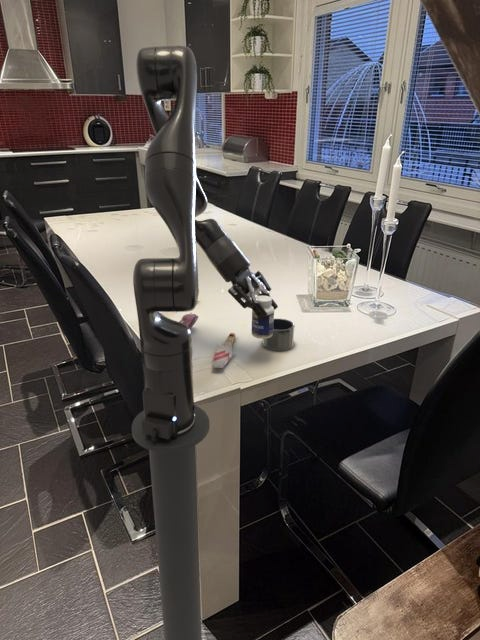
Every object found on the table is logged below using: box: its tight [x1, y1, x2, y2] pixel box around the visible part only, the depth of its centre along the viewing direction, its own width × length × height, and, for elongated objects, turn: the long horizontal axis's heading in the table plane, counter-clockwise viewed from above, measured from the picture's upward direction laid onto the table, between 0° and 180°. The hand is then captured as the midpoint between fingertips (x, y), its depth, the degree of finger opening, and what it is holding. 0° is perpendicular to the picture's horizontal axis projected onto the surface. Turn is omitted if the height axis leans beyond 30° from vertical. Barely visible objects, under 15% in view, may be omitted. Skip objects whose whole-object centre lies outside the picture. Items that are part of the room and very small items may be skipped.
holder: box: [262, 318, 295, 352], centre depth 125 cm, size 8×8×6 cm
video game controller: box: [178, 311, 199, 331], centre depth 131 cm, size 10×5×7 cm, turn 159°
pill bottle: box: [251, 295, 275, 340], centre depth 114 cm, size 5×5×10 cm
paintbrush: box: [211, 332, 236, 369], centre depth 120 cm, size 4×3×20 cm
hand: (269, 313), depth 113 cm, fingers closed on pill bottle, 5 cm apart
